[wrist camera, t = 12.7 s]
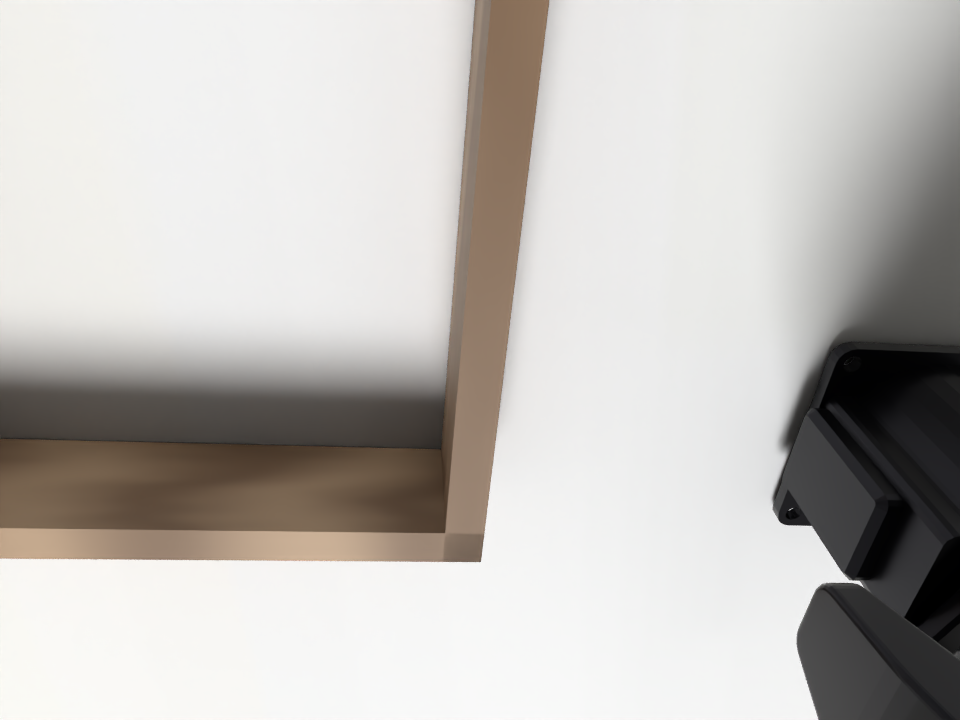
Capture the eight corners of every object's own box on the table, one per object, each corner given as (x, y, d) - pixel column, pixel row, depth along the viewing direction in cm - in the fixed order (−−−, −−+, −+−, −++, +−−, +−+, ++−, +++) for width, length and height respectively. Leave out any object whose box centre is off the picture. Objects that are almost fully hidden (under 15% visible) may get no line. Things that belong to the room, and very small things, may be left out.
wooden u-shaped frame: (579, -540, 12) (633, -692, 9) (471, 476, 23) (480, 561, 20) (-557, -736, 10) (-958, -1005, 7) (-98, 464, 21) (-184, 557, 18)
